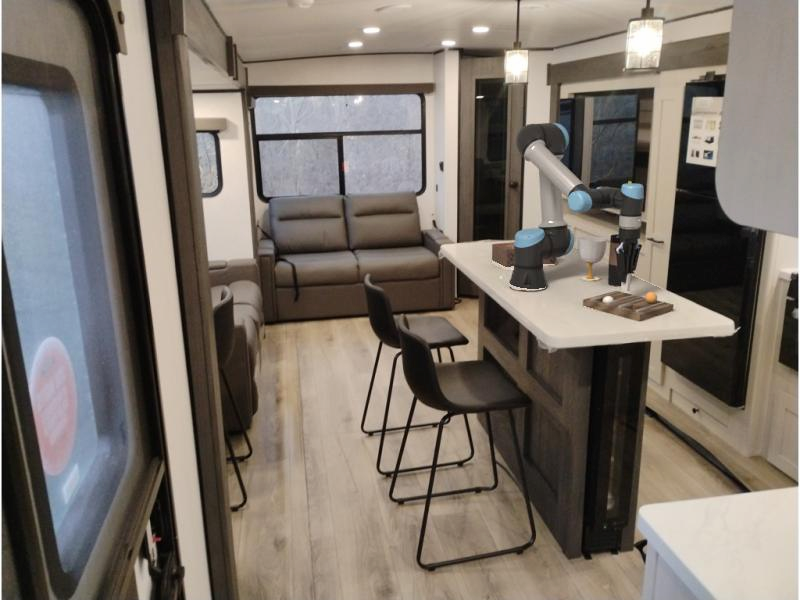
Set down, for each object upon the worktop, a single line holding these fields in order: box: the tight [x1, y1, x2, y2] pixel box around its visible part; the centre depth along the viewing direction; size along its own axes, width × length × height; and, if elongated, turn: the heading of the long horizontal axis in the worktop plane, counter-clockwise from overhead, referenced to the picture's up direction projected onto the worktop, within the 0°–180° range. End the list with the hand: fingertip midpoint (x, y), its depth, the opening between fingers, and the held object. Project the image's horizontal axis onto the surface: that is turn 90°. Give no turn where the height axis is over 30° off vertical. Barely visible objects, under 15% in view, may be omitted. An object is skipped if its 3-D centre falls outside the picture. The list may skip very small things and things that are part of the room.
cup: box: [577, 236, 608, 281], centre depth 274 cm, size 12×12×17 cm
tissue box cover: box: [491, 241, 557, 267], centre depth 303 cm, size 26×14×10 cm, turn 108°
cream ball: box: [602, 296, 614, 303], centre depth 236 cm, size 4×4×4 cm
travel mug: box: [607, 233, 622, 287], centre depth 264 cm, size 8×8×20 cm
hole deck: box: [582, 290, 674, 323], centre depth 233 cm, size 24×19×3 cm
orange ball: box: [645, 291, 658, 303], centre depth 230 cm, size 4×4×4 cm
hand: (625, 290), depth 240 cm, fingers closed
